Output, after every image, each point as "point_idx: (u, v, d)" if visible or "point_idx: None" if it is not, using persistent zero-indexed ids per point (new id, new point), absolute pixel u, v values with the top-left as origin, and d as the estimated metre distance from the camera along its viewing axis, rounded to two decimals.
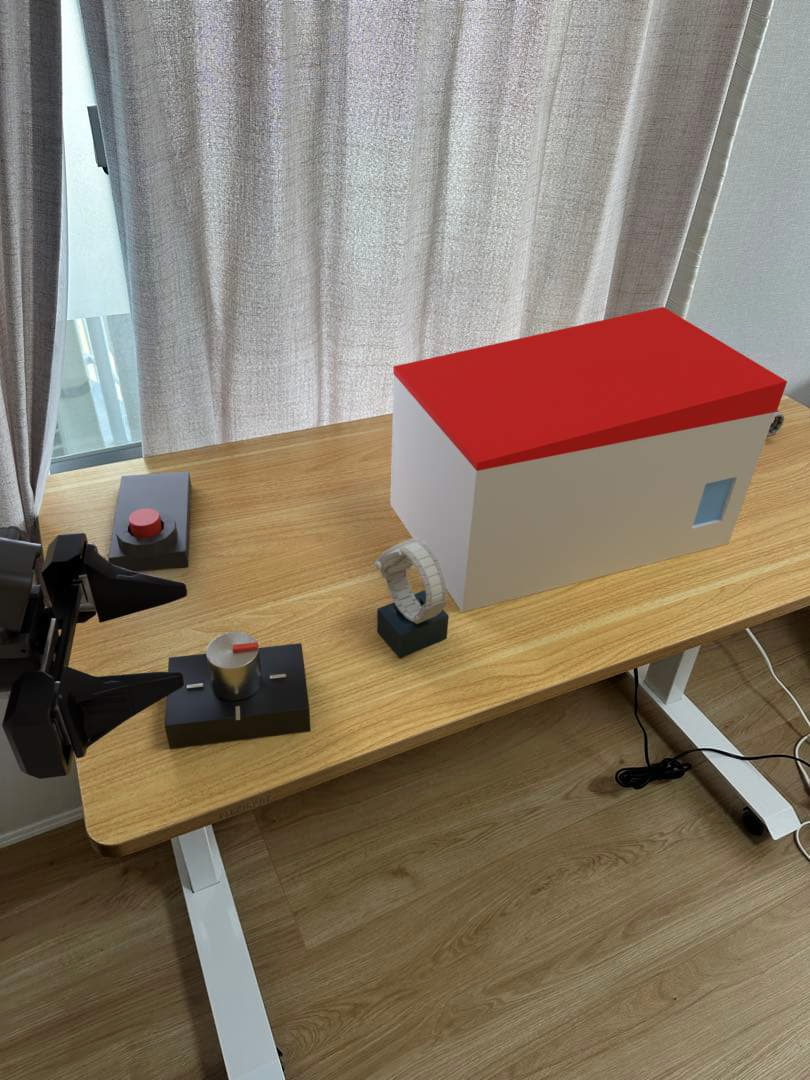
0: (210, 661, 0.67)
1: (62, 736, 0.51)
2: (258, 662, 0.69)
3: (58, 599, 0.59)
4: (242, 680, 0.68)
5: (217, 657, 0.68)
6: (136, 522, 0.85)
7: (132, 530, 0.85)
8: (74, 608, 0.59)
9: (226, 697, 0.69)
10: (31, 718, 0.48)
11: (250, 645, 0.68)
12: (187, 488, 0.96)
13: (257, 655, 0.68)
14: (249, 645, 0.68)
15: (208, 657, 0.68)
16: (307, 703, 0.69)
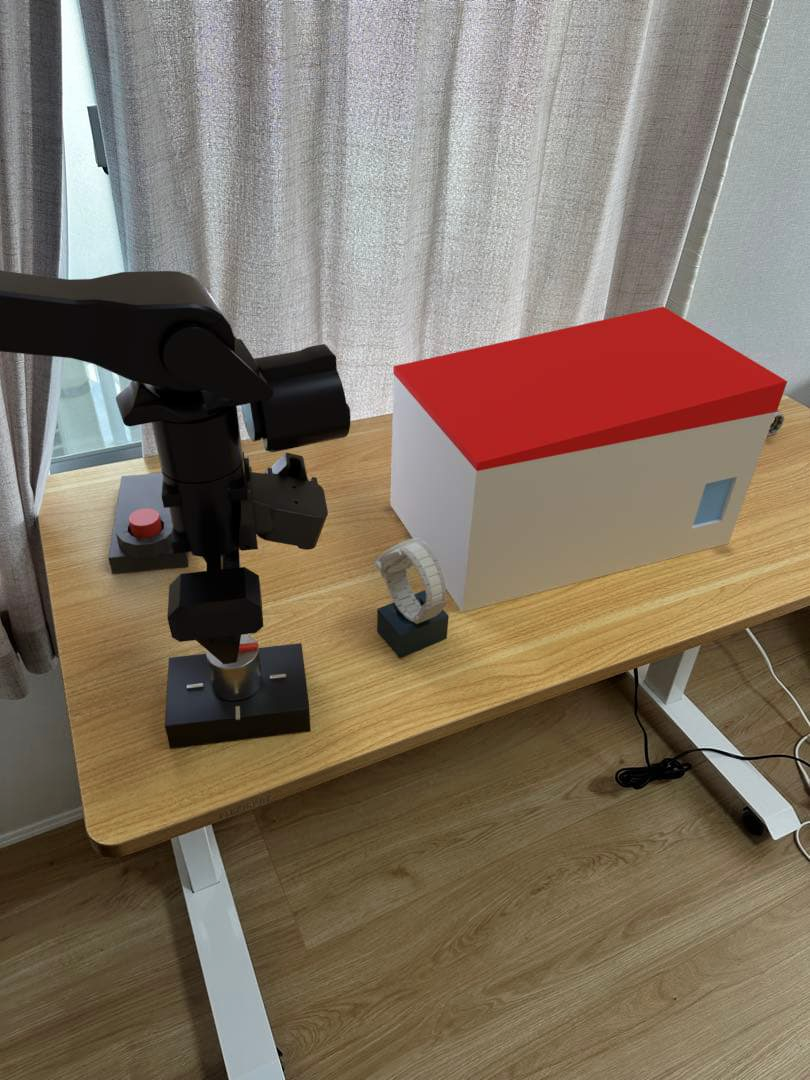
0: (210, 661, 0.67)
1: None
2: (258, 662, 0.69)
3: None
4: (242, 680, 0.68)
5: None
6: (136, 522, 0.85)
7: (132, 530, 0.85)
8: None
9: (226, 697, 0.69)
10: (258, 620, 0.55)
11: (250, 645, 0.68)
12: None
13: (257, 655, 0.68)
14: (249, 645, 0.68)
15: (208, 657, 0.68)
16: (307, 703, 0.69)
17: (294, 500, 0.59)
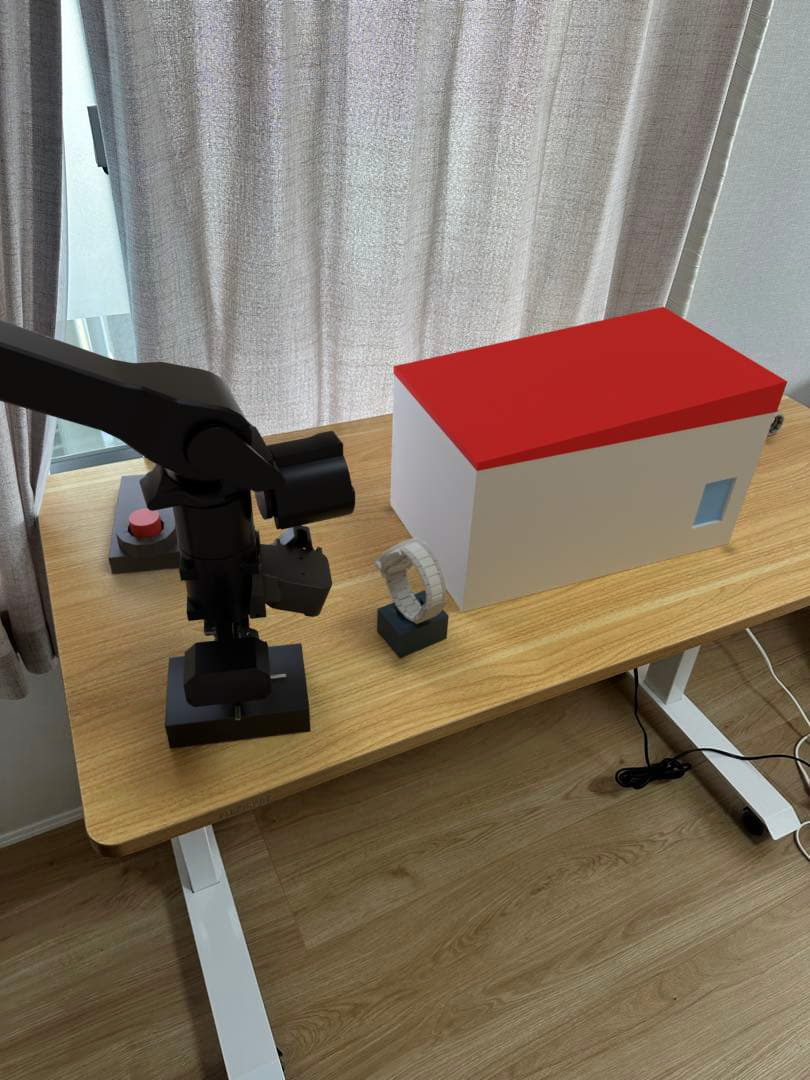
0: None
1: None
2: None
3: None
4: None
5: None
6: (136, 522, 0.85)
7: (132, 530, 0.85)
8: None
9: None
10: (267, 687, 0.59)
11: None
12: None
13: None
14: None
15: None
16: (307, 703, 0.69)
17: (301, 571, 0.64)
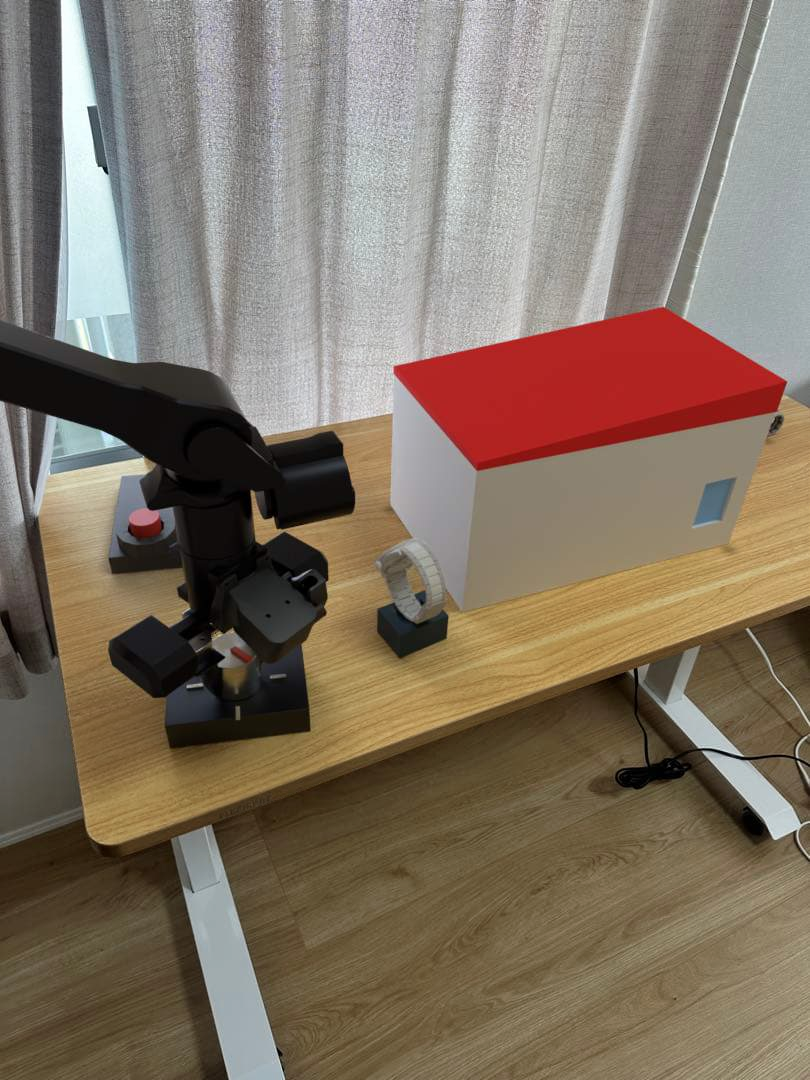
0: None
1: None
2: (244, 675, 0.68)
3: None
4: (221, 680, 0.68)
5: (215, 647, 0.69)
6: (136, 522, 0.85)
7: (132, 530, 0.85)
8: None
9: None
10: (157, 689, 0.58)
11: (243, 655, 0.67)
12: None
13: (242, 668, 0.67)
14: (243, 655, 0.68)
15: None
16: (307, 703, 0.69)
17: (269, 613, 0.60)
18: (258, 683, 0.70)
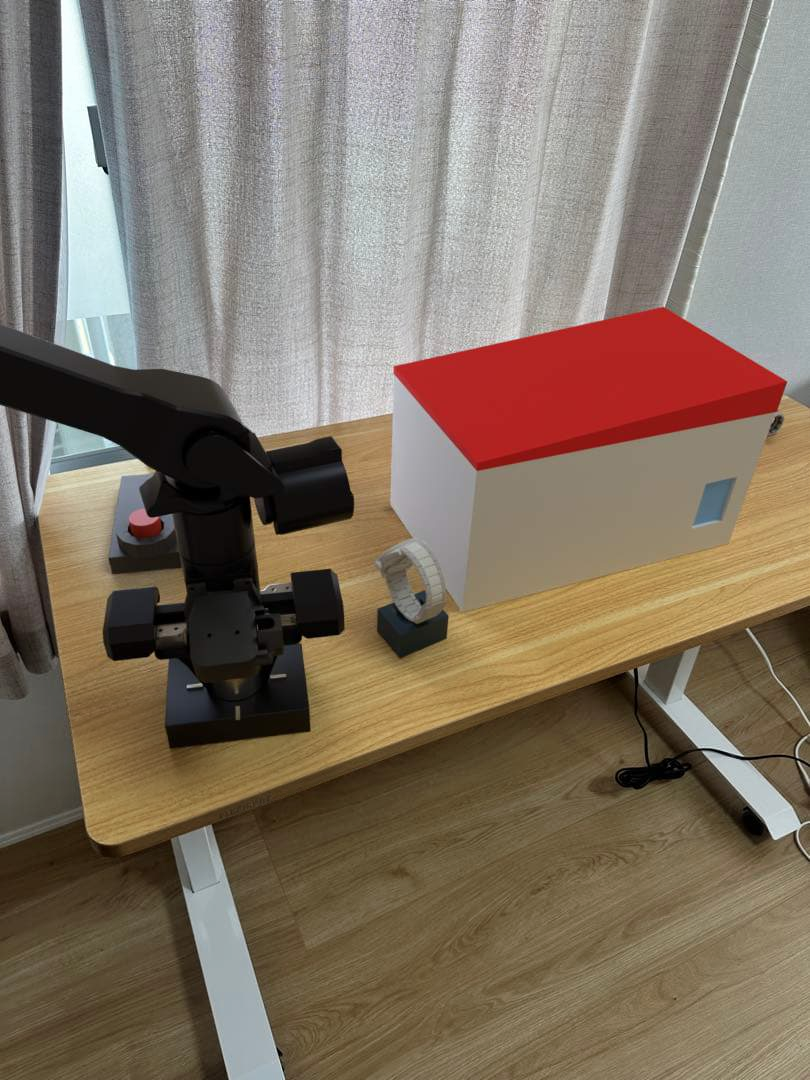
0: None
1: None
2: None
3: (279, 604, 0.66)
4: None
5: None
6: (136, 522, 0.85)
7: (132, 530, 0.85)
8: None
9: None
10: (108, 650, 0.62)
11: None
12: None
13: None
14: None
15: None
16: (307, 703, 0.69)
17: (212, 633, 0.59)
18: (244, 693, 0.69)
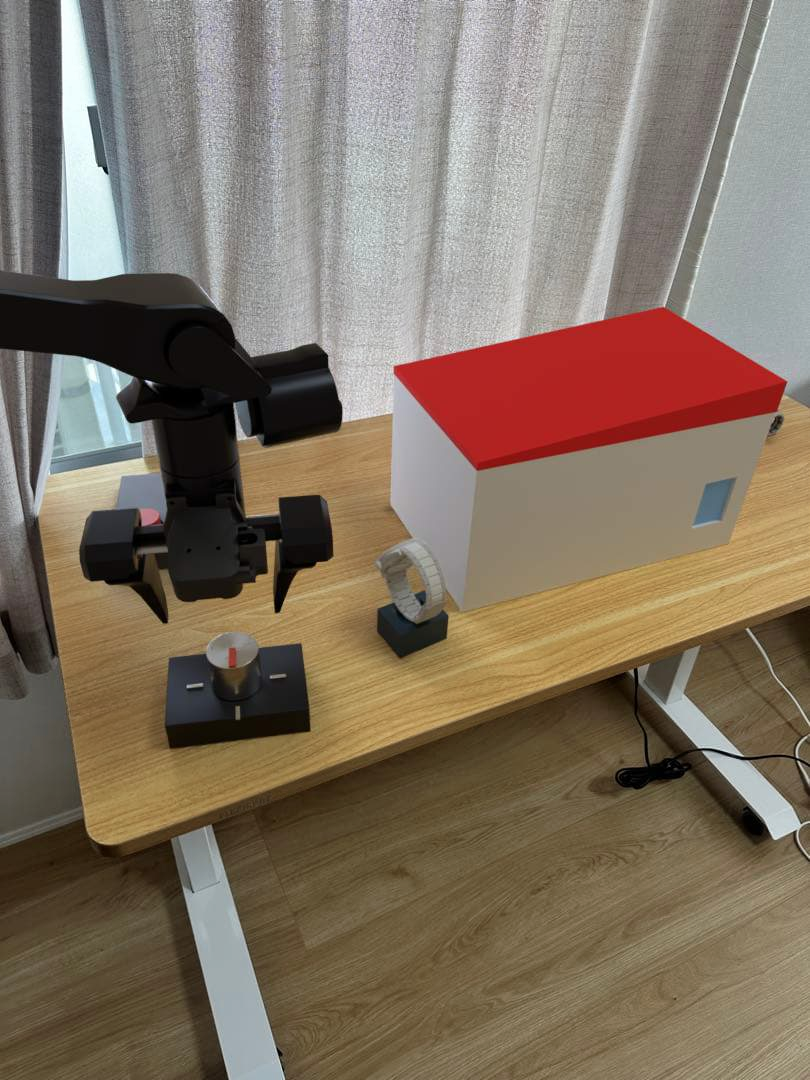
0: (219, 636, 0.70)
1: None
2: (225, 677, 0.67)
3: (265, 528, 0.63)
4: (209, 671, 0.69)
5: (223, 640, 0.69)
6: None
7: None
8: None
9: None
10: (85, 570, 0.59)
11: (231, 660, 0.67)
12: None
13: (223, 670, 0.67)
14: (231, 659, 0.67)
15: (225, 634, 0.70)
16: (307, 703, 0.69)
17: (191, 548, 0.56)
18: (244, 693, 0.69)
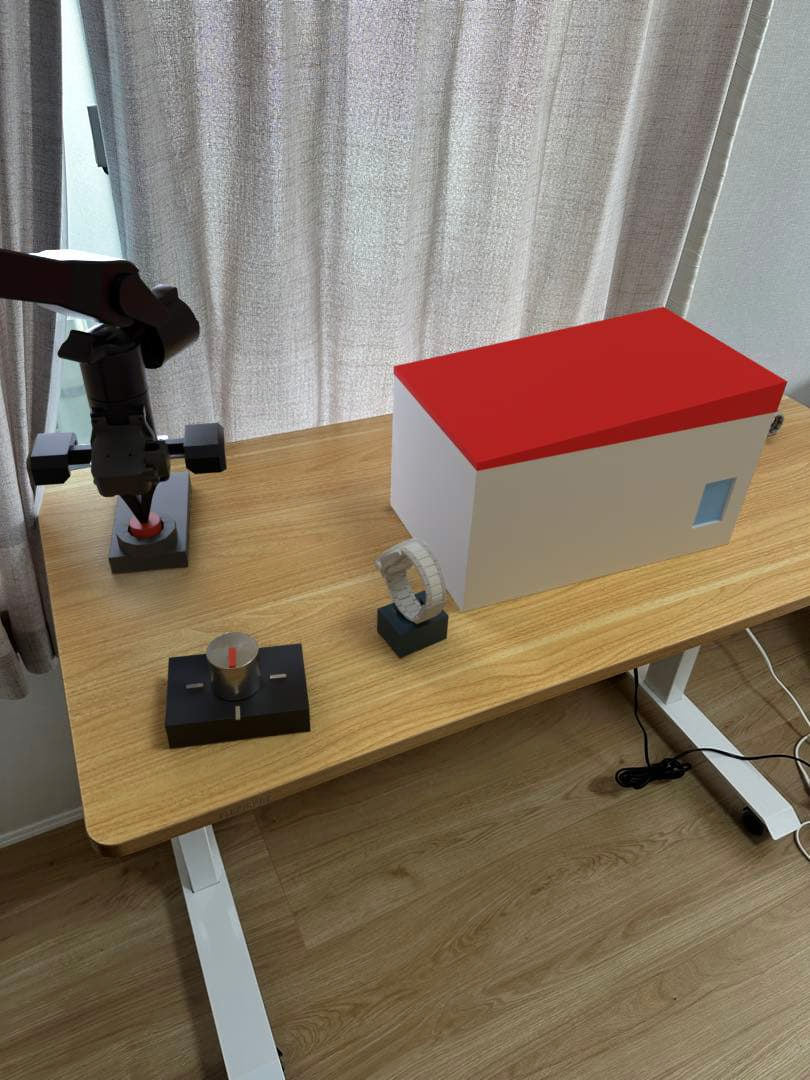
0: (219, 636, 0.70)
1: None
2: (225, 677, 0.67)
3: (173, 447, 0.81)
4: (209, 671, 0.69)
5: (223, 640, 0.69)
6: (137, 526, 0.85)
7: (133, 533, 0.86)
8: None
9: None
10: (30, 476, 0.77)
11: (231, 660, 0.67)
12: (187, 488, 0.96)
13: (223, 670, 0.67)
14: (231, 659, 0.67)
15: (225, 634, 0.70)
16: (307, 703, 0.69)
17: (109, 455, 0.74)
18: (244, 693, 0.69)
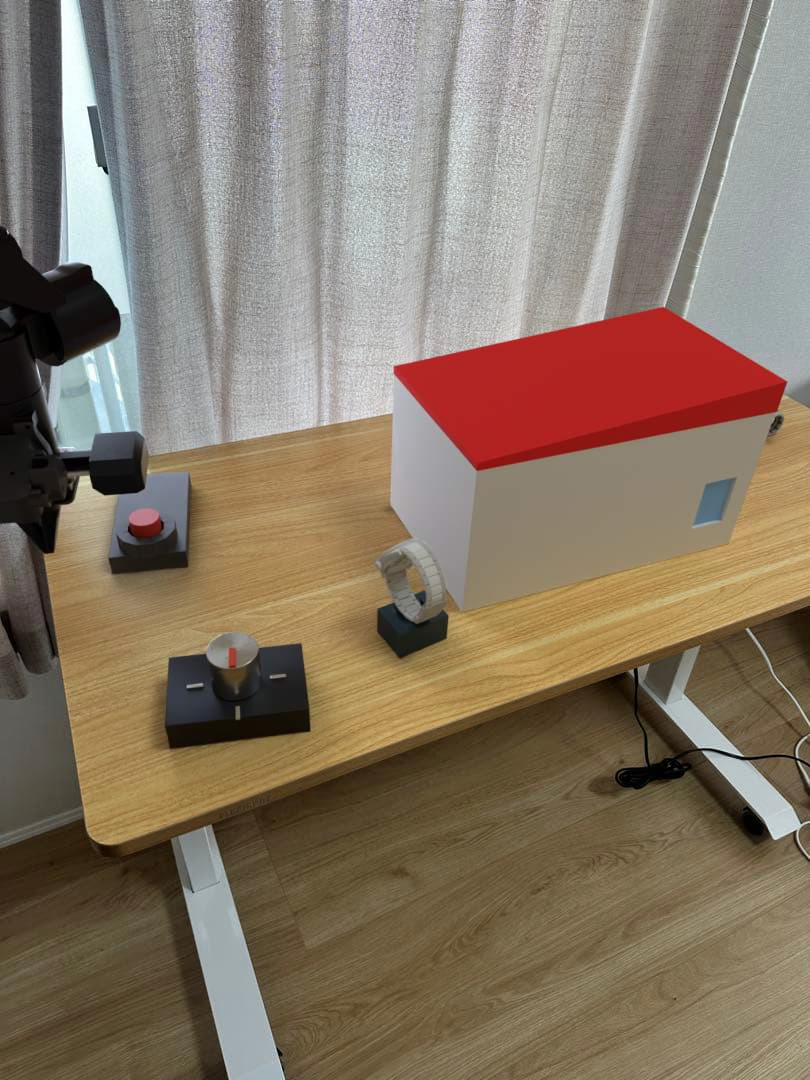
0: (219, 636, 0.70)
1: None
2: (225, 677, 0.67)
3: (78, 461, 0.65)
4: (209, 671, 0.69)
5: (223, 640, 0.69)
6: (136, 522, 0.85)
7: (132, 530, 0.85)
8: None
9: None
10: None
11: (231, 660, 0.67)
12: (187, 488, 0.96)
13: (223, 670, 0.67)
14: (231, 659, 0.67)
15: (225, 634, 0.70)
16: (307, 703, 0.69)
17: None
18: (244, 693, 0.69)
